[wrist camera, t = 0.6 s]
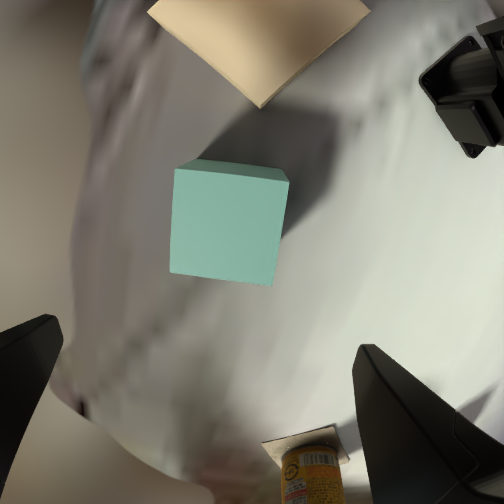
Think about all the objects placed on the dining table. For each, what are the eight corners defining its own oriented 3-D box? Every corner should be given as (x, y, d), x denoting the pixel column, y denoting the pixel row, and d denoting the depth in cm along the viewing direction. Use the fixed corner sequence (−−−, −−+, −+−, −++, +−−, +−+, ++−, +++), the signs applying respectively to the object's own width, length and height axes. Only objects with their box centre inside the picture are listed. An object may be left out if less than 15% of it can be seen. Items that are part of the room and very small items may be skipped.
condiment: (288, 475, 30) (291, 563, 19) (260, 442, 27) (258, 549, 16) (349, 460, 29) (365, 550, 18) (332, 423, 26) (352, 535, 15)
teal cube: (281, 168, 18) (289, 182, 14) (269, 248, 20) (272, 285, 15) (196, 158, 18) (175, 168, 13) (190, 238, 20) (169, 272, 15)
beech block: (257, -48, 13) (257, -75, 10) (353, 28, 15) (370, 11, 12) (165, 29, 15) (146, 12, 12) (260, 109, 17) (260, 105, 14)
